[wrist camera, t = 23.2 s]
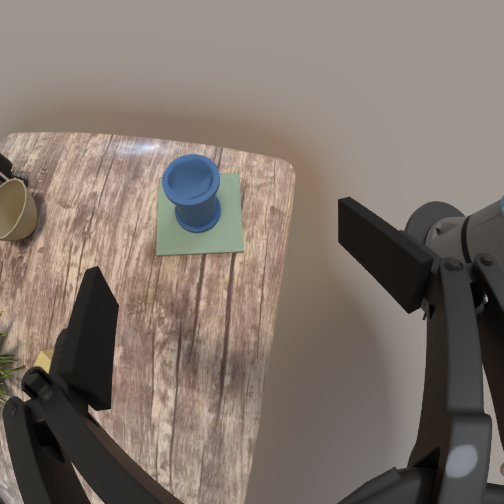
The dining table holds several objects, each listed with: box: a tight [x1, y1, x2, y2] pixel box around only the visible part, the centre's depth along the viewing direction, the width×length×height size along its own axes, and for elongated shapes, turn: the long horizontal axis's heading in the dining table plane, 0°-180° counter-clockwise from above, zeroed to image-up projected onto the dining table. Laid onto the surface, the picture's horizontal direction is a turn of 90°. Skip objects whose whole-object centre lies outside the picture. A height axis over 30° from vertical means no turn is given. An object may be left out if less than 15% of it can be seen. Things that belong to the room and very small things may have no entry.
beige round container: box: [0, 179, 38, 241], centre depth 34 cm, size 10×10×7 cm
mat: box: [157, 173, 244, 256], centre depth 40 cm, size 12×12×1 cm
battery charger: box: [0, 153, 27, 186], centre depth 33 cm, size 7×4×11 cm, turn 72°
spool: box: [162, 154, 221, 233], centre depth 35 cm, size 6×6×10 cm
